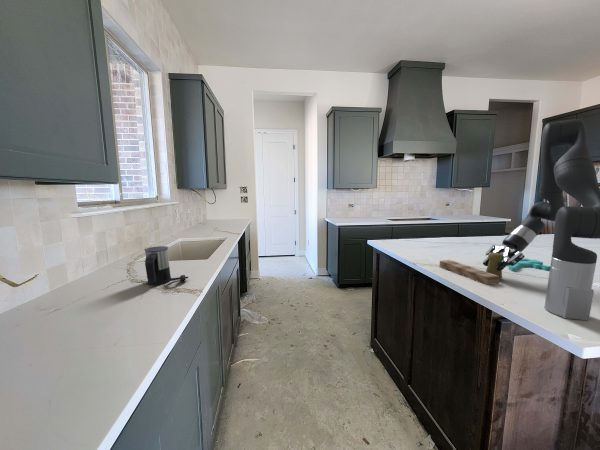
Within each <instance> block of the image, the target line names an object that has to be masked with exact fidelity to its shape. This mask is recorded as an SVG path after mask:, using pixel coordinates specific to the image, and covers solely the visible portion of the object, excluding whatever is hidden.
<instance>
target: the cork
mask: <svg viewBox="0 0 600 450" xmlns="http://www.w3.org/2000/svg"><path fill="white" fill-rule="evenodd" d="M488 259H489V263H488V266H486V270H485V272H488V273H491V274H494V275H497V276H499V281H502V280H503V270H501V271H497V269H496V266H497V265H498V264H500V263H501V261H502V260H503V255H502V254H500V253H489V255H488Z"/></svg>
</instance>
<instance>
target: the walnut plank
mask: <svg viewBox="0 0 600 450" xmlns="http://www.w3.org/2000/svg"><path fill="white" fill-rule="evenodd" d="M439 268H442V269H444V270H447V271H448V272H449V271H450V272H452V273H454V274H458V275H460V276H463V277H465V278H468V279H471V280H474V281H477V282H478V283H481V284H484V285H487V286H488V285H489V286H490V285H496V284H499V281H500V280H499V276H497V275H494V274H491V273H488V272H486V270H481V269H479V268H476V267H472V266H470V265H466V264H463V263H462V262H461V263H460V262H457V261H454V260H452V259H446V260H445V259H444V260H439Z"/></svg>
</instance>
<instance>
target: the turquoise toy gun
mask: <svg viewBox="0 0 600 450" xmlns="http://www.w3.org/2000/svg"><path fill="white" fill-rule="evenodd" d="M503 259H504V257H503ZM514 261H515V260H514ZM501 262H503V260H502V261H501ZM512 262H513V261H512ZM521 268H534V269H541V270H543V271H550V266H549V265H547V264H544V261H540V260H538V259H531V258H528V257H527V258H526V257H524V258H523V259H522V260H520V261H519V262H518V263H516V264H515V265H514V266H511V265H508V270H509V271H511V272H518V270H519V269H521Z"/></svg>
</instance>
